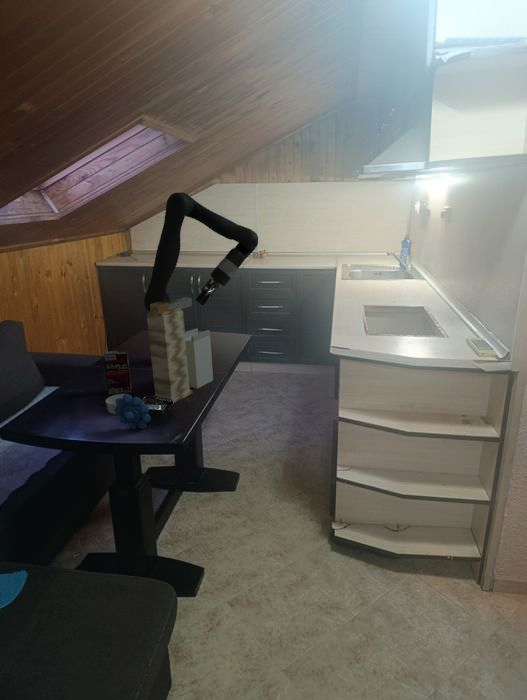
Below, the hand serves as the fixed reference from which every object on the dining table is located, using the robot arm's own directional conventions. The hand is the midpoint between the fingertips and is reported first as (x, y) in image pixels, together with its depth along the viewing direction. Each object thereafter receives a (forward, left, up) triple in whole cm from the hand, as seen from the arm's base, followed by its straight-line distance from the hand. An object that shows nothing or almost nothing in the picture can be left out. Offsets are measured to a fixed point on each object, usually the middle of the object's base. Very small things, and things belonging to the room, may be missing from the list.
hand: (199, 302), depth 190 cm
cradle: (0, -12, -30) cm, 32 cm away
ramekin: (-23, -37, -30) cm, 53 cm away
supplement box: (-29, -20, -30) cm, 47 cm away
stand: (-7, -25, -30) cm, 40 cm away
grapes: (-13, -53, -30) cm, 62 cm away
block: (-5, -22, +2) cm, 23 cm away
